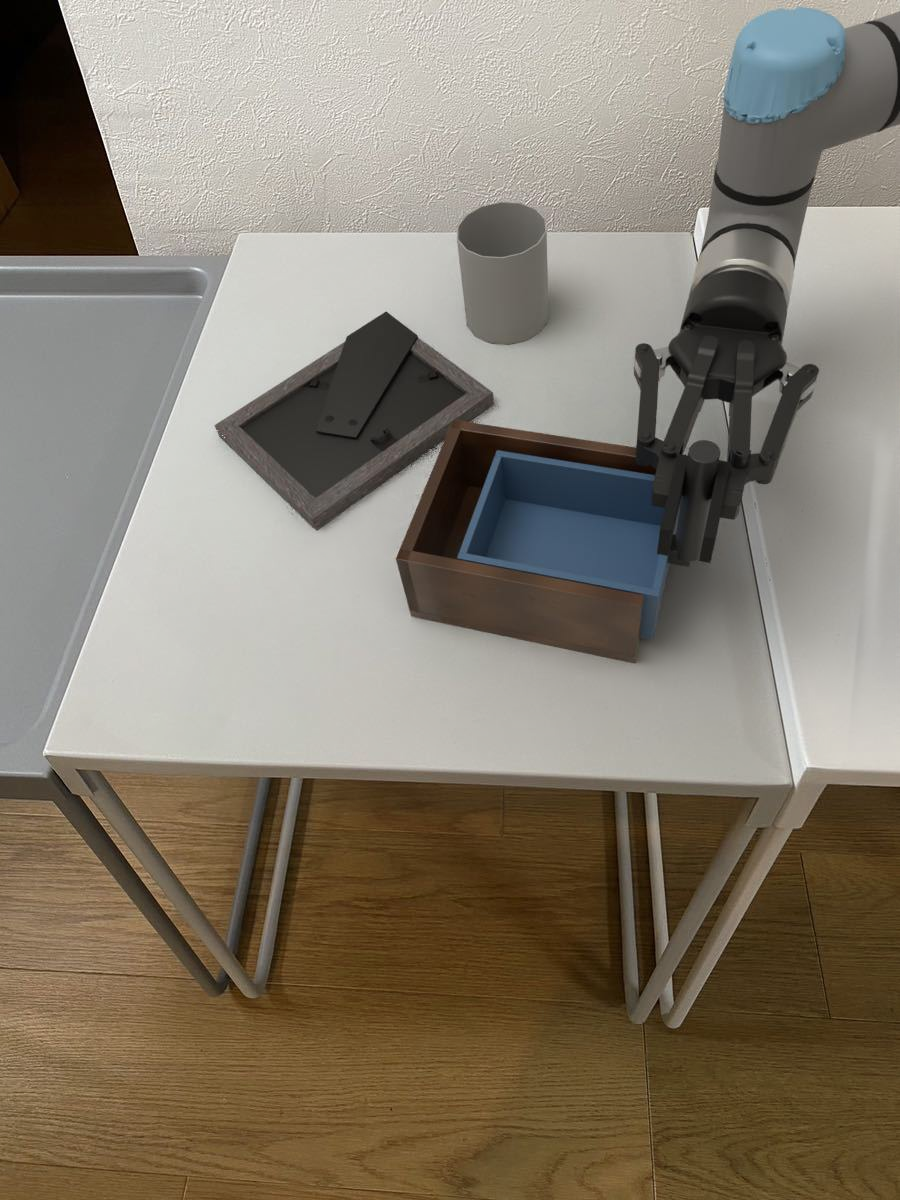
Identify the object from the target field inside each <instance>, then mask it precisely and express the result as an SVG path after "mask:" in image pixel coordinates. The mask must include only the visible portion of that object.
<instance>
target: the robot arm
mask: <svg viewBox="0 0 900 1200" xmlns="http://www.w3.org/2000/svg"><path fill="white" fill-rule="evenodd" d="M732 50H733V51H732V56H731V57H730V61H729V67H728V71H727V76H726V80H725V85H724V89H723V98H722V101H723V109H722V118H721V127H720V136H719V138H720V139H719V146H718V155H717V162H716V163H715V169H714V173H713V179H712V186H711V191H710V192H711V194H710V200H709V201H710V202H709V208H708V215H707V221H706V225H705V231H704V235H703V240H702V243H701V249H700V253H699V256H698V259H697V262H696V265H695V269H694V273H693V277H692V280H691V285H690V289H689V294H688V299H687V301H686V304H685V308H684V311H683V312H684V313H683V317H682V321H681V324H680V328H679V331H678V333H677V334H676V335H675V336H674V337H673V338H672V339H670V341H669V343H668V346H666V347H660V348H656V349H653V347H652V345H650V344H649V343H645V342H643V343H639V344H637V345H636V347H635V351H634V361H633V363H634V364H633V376H634V379H635V381H636V383H637V385H638V388H639V390H640V392H639V394H640V395H639V404H638V419H637V431H636V445H635V447H636V457H635V460H636V462H637V463H638V464H639V465H642V466H646V465H649V464H650V465H652V466H654V467H655V468H656V474H655V478H654V482H653V486H652V495H651V502H652V506H655V507H661V508H665V510H664V514H663V518H662V523H661V527H660V533H659V541H658V548H657V554H660V555H666V556H668V555H669V550H670V546H671V541H672V537H673V532H674V528H675V523H676V519H677V514H678V510H679V506H680V501H681V497H682V491H683V485H684V478H685V472H686V465H687V458H688V454H684V453H685V450H686V449H687V445H688V443H689V440H690V437H691V434H692V433H693V429H694V427H695V424H696V422H697V420H698V416H699V414H700V413H701V412H702V408H703V406H704V404H705V401H706V400H707V401H708V400H718V401H722V402H726V403H729V404H728V417H729V418H728V419H729V420H728V434H727V435H728V436H727V453H726V460H721V459H719V463H718V468H717V473H716V478H715V483H714V488H713V493H712V498H711V503H710V508H709V512H708V517H707V522H706V527H705V532H704V537H703V542H702V547H701V552H700V556H699V557H698V562H699V563H706V564H711V563H712V558H713V554H714V549H715V544H716V540H717V535H718V531H719V524H720V519H726V520H731V521H735V520H736V519H737V517H738V516H739V513H740V510H741V507H742V506H741V505H742V501H743V496H744V491H745V485H747V484H749V483H751V482H756V483H757V484H759V485H763V486H764V485H769V484H770V483H771V482H772V481H773V478H774V476H775V473H776V470H777V468H778V465H779V461H780V459H781V456H782V453H783V452H784V448H785V445H786V443H787V440H788V438H789V434H790V432H791V429H792V426H793V423H794V421H795V419H796V415H797V413H798V411H799V410H801V408H802V407H804V405H805V404H806V403H808V401H810V399H811V398H812V397H813V393H814V389H815V386H816V384H817V378H818V376H819V373H820V369H819V367H818V366H817V365H816V364H814V363H807V364H803V365H802V366H801V367H798V366H796V365H794V364H792V363H790V362H789V361H788V354H787V352H786V350H785V349H784V347H783V342H784V334H785V329H786V323H787V316H788V309H789V304H790V299H791V295H792V287H793V282H794V276H795V267H796V260H797V255H798V250H799V245H800V241H801V236H802V231H803V226H804V222H805V218H806V214H807V210H808V205H809V201H810V197H811V192H812V188H813V184H814V181H815V178H816V173H817V170H818V166H819V164H820V159H821V156H822V153H823V152H825V150H828V149H831V148H835V147H837V146H840V145H843V144H846V143H849V142H852V141H856V140H858V139H862V138H864V137H868V136H870V135H871V136H872V135H873V134H876V133H880V132H882V131H884V130H887V129H890V128H893V127H896V126H900V11H897V12H894V13H891V14H887V15H885V16H882V17H879V18H876V19H872V20H868V21H866V22H863V23H858V24H855V25H852V26H848V27H844V25H843V24H842V23H841V21H840V20H839V19H838V18H836V17H835V16H834V15H832V14H831V13H828V12H826V11H823V10H820V9H817V8H812V7H803V6H797V7H796V8H794V9H787V8H786V9H785V8H776V9H771V10H768V11H766V12H764V13H763V12H762V13H761V14H759V15H757V16H755V17H754V18H752V19H750V21H748V23H746V25H744V26H743V28H742V29H741V30H740V31H739V33H738V34H737V37H736V40H735V41H734V46H733V49H732ZM667 367H670V368H671V370H672V371H673V372H674V374H675V375H676V377H677V378H678V379H679V381H680V382H681V384H682V385H683V387H684V389H683V392H682V394H681V397H680V399H679V400H678V401H679V402H678V404H677V407H676V409H675V411H674V414H673V417H672V419H671V421H670V424H669V427H668V429H667V432H666V434H665V437H664V439H663V440H662V439H659V438H657V437H656V429H657V413H658V396H659V395H658V394H659V382H660V381H661V378H663V377H664V376H665V374H666V369H667ZM777 380H778V381H779V386H778V392H779V393H780V394H781V396H780V399H779V402H778V403H777V407H776V410H775V412H774V415H773V417H772V419H771V423H770V425H769V427H768V430H767V432H766V435H765V438H764V440H763V443H762V446H761V449H760V452H759V453H752V449H751V437H752V436H751V432H752V431H751V430H752V406H753V405H752V404H753V397H754V396H756V395H757V394H758V393H761V391H763V390H765V389H766V388H768V387H769V386H770V385H772V384H774V383H775V382H776V381H777Z"/></svg>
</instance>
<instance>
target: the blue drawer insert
mask: <svg viewBox="0 0 900 1200" xmlns="http://www.w3.org/2000/svg"><path fill="white" fill-rule="evenodd" d="M687 455H688V458H687V465H686V472H685V478H684V485H683V491H682V497H681V501H680V506H679V510H678V514H677V519H676V523H675V528H674V532H673V537H672V541H671V546H670V550H669V555H668V556H666V555H660V554H657V548H658V541H659V533H660V527H661V523H662V518H663V514H664V510H665V508H661V507H655V506H652V502H651V495H652V486H653V482H654V478H655V475H650V474H644V473H638V472H632V471H625V470H619V469H613V468H606V467H600V466H594V465H587V464H581V463H575V462H568V461H562V460H556V459H550V458H543V457H537V456H531V455H524V454H518V453H512V452H505V451H499V450H497V451H496V454H495V457H494V459H493V462H492V465H491V467H490V470H489V473H488V476H487V478H486V481H485V484H484V486H483V489H482V492H481V494H480V497H479V500H478V503H477V505H476V508H475V511H474V513H473V516H472V519H471V522H470V524H469V527H468V530H467V532H466V535H465V538H464V540H463V543H462V546H461V549H460V551H459V554H458V556H457V560H462V561H467V562H473V563H478V564H483V565H488V566H494V567H499V568H504V569H509V570H515V571H520V572H525V573H530V574H535V575H541V576H546V577H551V578H556V579H562V580H567V581H572V582H577V583H583V584H588V585H593V586H598V587H603V588H609V589H614V590H619V591H624V592H630V593H635V594H640V595H644V601H643V610H642V618H641V626H640V635H639V637H641V639H642V638H643V639H647V640H653V639H654V636H655V631H656V626H657V623H658V617H659V613H660V609H661V606H662V605H661V604H662V600H663V595H664V590H665V587H666V582H667V578H668V573H669V568H670V564H672V565H677V566H683V567H688V568H689V567H690V566H691V562H695V561H696V560H699V558H700V552H701V547H702V542H703V537H704V532H705V527H706V522H707V517H708V512H709V508H710V503H711V498H712V493H713V488H714V483H715V478H716V473H717V468H718V463H719V460H720V457H721V449H720V447H719V446H718V444H717V443H715V442H713V441H711V440H705V439H703V440H702V439H701V440H697V441H695V442H693V443H692V444H691V445H690V446H689V448H688V453H687Z"/></svg>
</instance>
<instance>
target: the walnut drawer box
mask: <svg viewBox="0 0 900 1200" xmlns="http://www.w3.org/2000/svg"><path fill="white" fill-rule="evenodd" d="M497 450H499V451H505V452H512V453H518V454H524V455H531V456H537V457H543V458H550V459H556V460H562V461H568V462H575V463H581V464H587V465H594V466H600V467H606V468H613V469H619V470H625V471H632V472H638V473H644V474H650V475H655V474H656V468H655V467H654V466H652V465H650V464H649V465H646V466H642V465H639V464H638V463H637V462H636V460H635V457H636V446H628V445H623V444H616V443H608V442H602V441H595V440H590V439H589V440H588V439H582V438H576V437H570V436H562V435H557V434H549V433H542V432H536V431H531V430H523V429H516V428H509V427H504V426H496V425H490V424H484V423H483V424H482V423H477V422H471V421H470V422H464V421H459V420H453V421H452V423H451V426H450V428H449V430H448V433H447V435H446V438H445V439H444V440H443V443H442V446H441V448H440V450H439V452H438V455H437V457H436V460H435V462H434V465H433V467H432V470H431V472H430V475H429V477H428V478H427V479H428V480H427V482H426V484H425V487H424V489H423V492H422V493H421V496H420V499H419V501H418V504H417V506H416V508H415V511H414V513H413V516H412V518H411V521H410V523H409V526H408V528H407V529H406V532H405V535H404V538H403V540H402V543H401V544H400V547H399V549H398V552H397V555H396V557H395V561H396V562H395V563H396V565H397V569H398V573H399V576H400V580H401V584H402V587H403V591H404V595H405V599H406V603H407V606H408V611H409V614H410V616H411V617H413V618H416V619H417V618H418V619H423V620H426V621H432V622H436V623H441V624H446V625H450V626H454V627H455V626H456V627H459V628H466V629H471V630H475V631H480V632H484V633H489V634H494V635H499V636H503V637H508V638H513V639H518V640H522V641H526V642H531V643H537V644H541V645H546V646H551V647H554V648H555V647H556V648H561V649H566V650H569V651H575V652H579V653H585V654H589V655H593V656H599V657H603V658H608V659H613V660H618V661H623V662H627V663H631V664H636V661H637V657H638V652H639V647H640V644H641V639H642V637H639V635H640V626H641V618H642V610H643V601H644V595H640V594H635V593H630V592H624V591H619V590H614V589H609V588H603V587H598V586H593V585H588V584H583V583H577V582H572V581H567V580H562V579H556V578H551V577H546V576H541V575H535V574H530V573H525V572H520V571H515V570H509V569H504V568H499V567H494V566H488V565H483V564H478V563H473V562H467V561H462V560H457V556H458V554H459V551H460V549H461V546H462V543H463V540H464V538H465V535H466V532H467V530H468V527H469V524H470V522H471V519H472V516H473V513H474V511H475V508H476V505H477V503H478V500H479V497H480V494H481V492H482V489H483V486H484V484H485V481H486V478H487V476H488V473H489V470H490V467H491V465H492V462H493V459H494V457H495V454H496V451H497Z"/></svg>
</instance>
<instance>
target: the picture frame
mask: <svg viewBox="0 0 900 1200" xmlns="http://www.w3.org/2000/svg"><path fill="white" fill-rule="evenodd" d="M494 405H495V400H494V392H493V391H492V390H491V389H489V388H488V387H487V386H485V385H484V384H482V383H481V382H479V380H477V379H476V378H474V377H472V376H471V375H470V374H468V373H467V372H466V371H465V370H463V369H462V368H460V367H459V366H458V365H457V364H455V363H454V362H453V361H451V360H450V359H448V358H447V357H446V356H444V355H443V354H441V353H440V351H437V350H436V349H435V348H433V347H432V346H431V345H429V344H428V343H427V342H425V341H424V340H422V339H421V338H420V337H419V335H418V334H416V333H415V332H414V331H412V330H411V329H410V328H408V327H407V326H406V325H405V324H403V323H402V322H401V321H400V320H398V319H397V318H395V317H394V316H393V315H392V314H391V313H389V312H388V311H384V312H383V313H381V314H379V315H378V316H376V317H375V318H373V319H372V320H370V321H368V322H367V323H366V324H364V325H362V326H361V327H359V328H358V329H356V330H355V331H353V332H351V333H350V334H349V335H347V336H346V337H345V340H344V341H343V342H342V343H340V344H339V345H337V346H336V347H334V348H333V349H331V350H329V351H328V352H326V353H325V354H323V355H322V356H320V357H318V358H317V359H315V360H314V361H312V362H310V363H309V364H308V365H306V366H304V367H303V368H301V369H299V370H298V371H297V372H295V373H294V374H292V375H290V376H289V377H287V378H286V379H284V380H282V381H281V382H280V383H278V384H276V385H275V386H273V387H272V388H270V389H268V390H267V391H266V392H264V393H262V394H261V395H259V396H258V397H256V398H255V399H253V400H251V401H250V402H248V403H246V404H245V405H243V406H242V407H240V408H239V409H238V410H235V411H234V412H233V413H231V414H230V415H228V416H226V417H225V418H223V419H221V420H220V421H219V422H217V423H215V424H214V425H213V426H214V428H215V430H216V433H217V434H218V437H219V438H220V439H221V440H222V441H223V442H224V443H225V444H226V445H227V446H228V447H229V448H230V449H232V451H233V452H235V453H236V454H237V456H239V457H240V459H242V460H243V461H244V463H246V464H247V465H248V466H249V467H250V468H251V469H252V470H253V471H254V472H255V473H256V474H257V475H258V476H259V477H260V478H261V479H262V480H263V481H264V482H266V484H267V485H268V486H269V487H271V488H272V490H273V491H275V493H277V494H278V495H279V496H280V498H282V499H283V500H284V501H285V502H286V503H287V504H288V505H289V506H290V507H291V508H292V509H293V510H294V511H295V512H296V513H297V514H298V515H299V516H300V517H301V518H302V519H304V520H305V521H306V522H307V524H308V525H310V526H311V528H313V529H314V530H315V531H318V530H319V529H320V528H322V527H323V526H324V525H327V523H329V522H330V521H332V520H333V519H335V518H336V517H337V516H339V515H341V513H343V512H344V511H346V510H347V509H349V508H350V507H352V506H353V505H354V504H355V503H357V502H359V501H360V500H361V499H362V498H364V497H366V496H367V495H369V493H371V492H372V491H374V490H375V489H377V488H378V487H380V486H381V485H382V484H384V483H385V482H386V481H388V480H389V479H391V478H392V477H394V476H396V474H398V473H399V472H401V471H402V470H404V469H405V468H406V467H408V466H409V465H411V464H413V462H415V461H416V460H418V459H419V458H420V457H422V456H423V455H425V454H426V453H427V452H429V451H430V450H431V449H434V447H436V446H437V445H438V444H440V443H441V442H444V440H445V438H446V435H447V433H448V430H449V428H450V426H451V423H452V421H453V420H459V421H464V422H471V421H473V420H474V419H475V418H477V417H478V416H479V415H481V414H483V413H485V411H487V410H488V409H490V408H491V407H492V406H494ZM217 430H218V431H217ZM222 435H223V436H222ZM224 437H225V438H224Z"/></svg>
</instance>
